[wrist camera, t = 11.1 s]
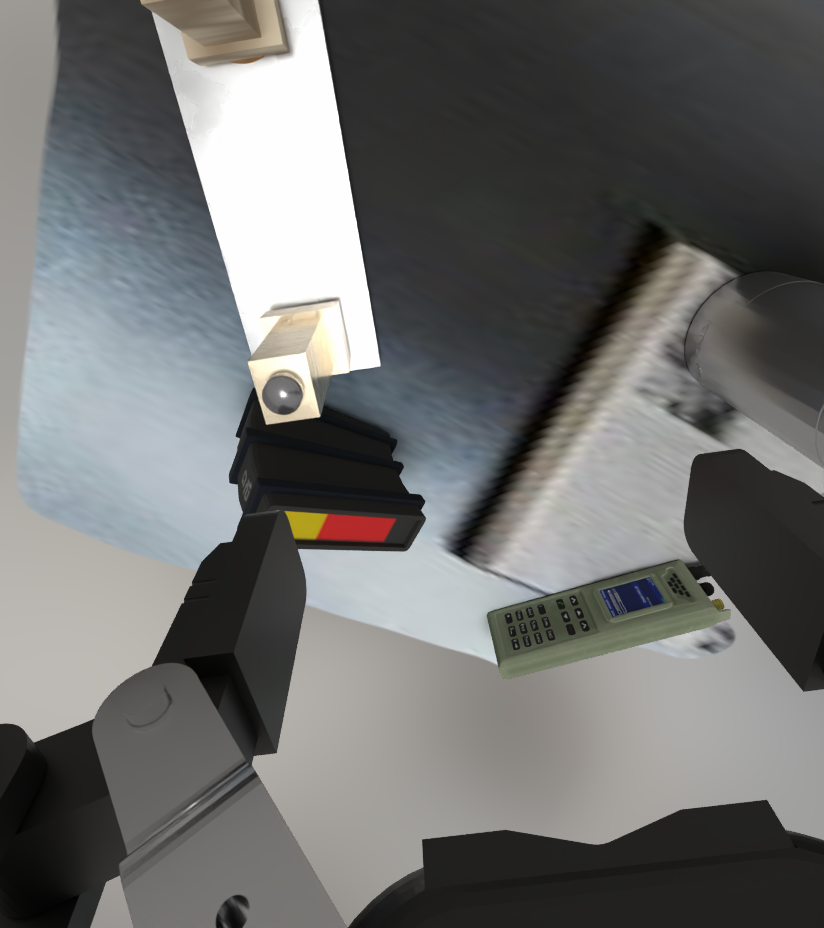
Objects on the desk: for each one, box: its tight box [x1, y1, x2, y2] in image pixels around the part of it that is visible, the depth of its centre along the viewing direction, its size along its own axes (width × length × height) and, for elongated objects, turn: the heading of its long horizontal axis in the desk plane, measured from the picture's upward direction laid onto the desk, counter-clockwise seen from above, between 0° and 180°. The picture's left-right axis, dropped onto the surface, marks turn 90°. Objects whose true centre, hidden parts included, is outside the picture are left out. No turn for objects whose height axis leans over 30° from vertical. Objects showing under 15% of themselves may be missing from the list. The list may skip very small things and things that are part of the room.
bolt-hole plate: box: [152, 0, 381, 425], centre depth 28 cm, size 9×28×13 cm, turn 8°
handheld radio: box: [487, 560, 731, 679], centre depth 49 cm, size 7×3×25 cm
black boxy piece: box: [229, 388, 426, 551], centre depth 37 cm, size 4×13×15 cm, turn 64°
